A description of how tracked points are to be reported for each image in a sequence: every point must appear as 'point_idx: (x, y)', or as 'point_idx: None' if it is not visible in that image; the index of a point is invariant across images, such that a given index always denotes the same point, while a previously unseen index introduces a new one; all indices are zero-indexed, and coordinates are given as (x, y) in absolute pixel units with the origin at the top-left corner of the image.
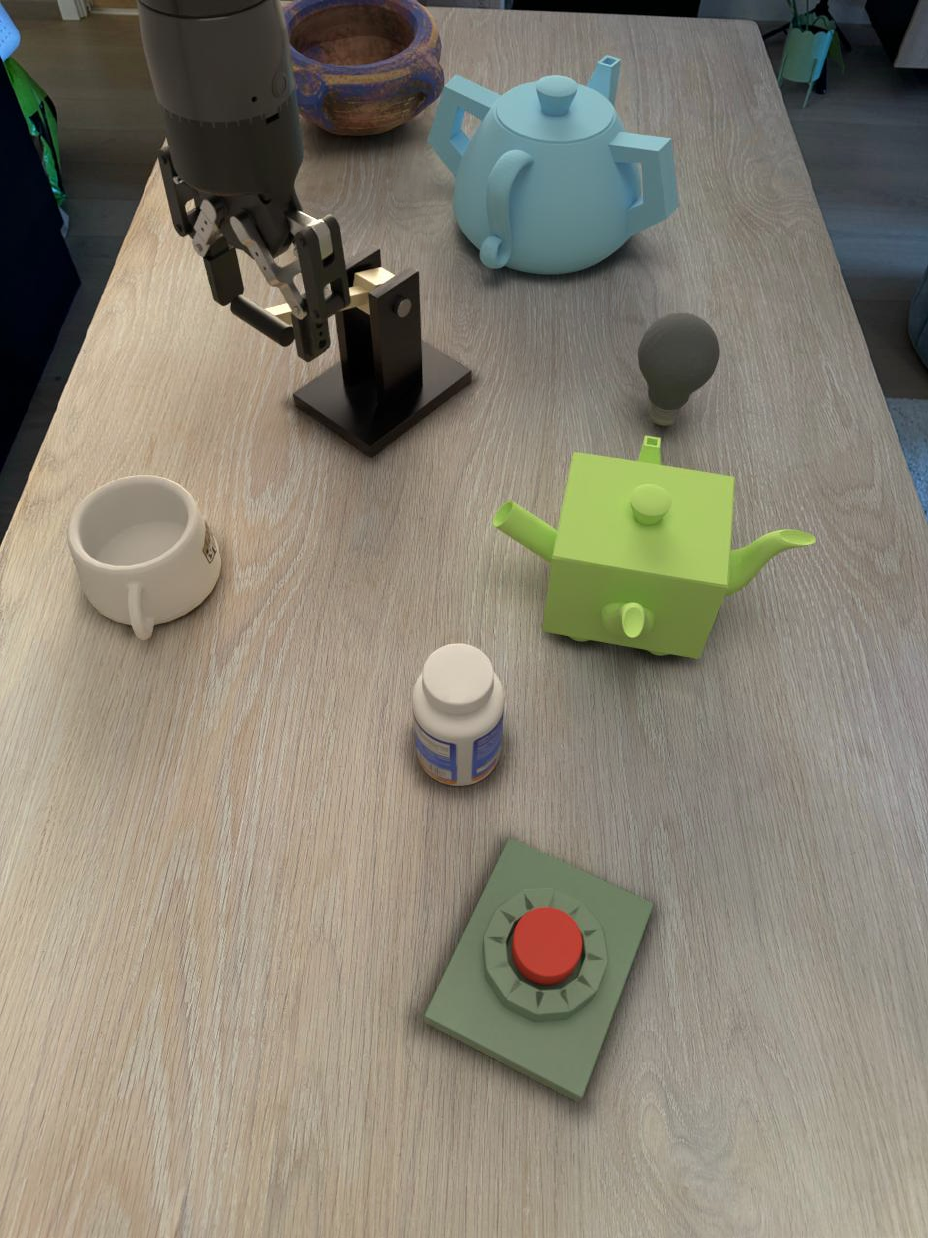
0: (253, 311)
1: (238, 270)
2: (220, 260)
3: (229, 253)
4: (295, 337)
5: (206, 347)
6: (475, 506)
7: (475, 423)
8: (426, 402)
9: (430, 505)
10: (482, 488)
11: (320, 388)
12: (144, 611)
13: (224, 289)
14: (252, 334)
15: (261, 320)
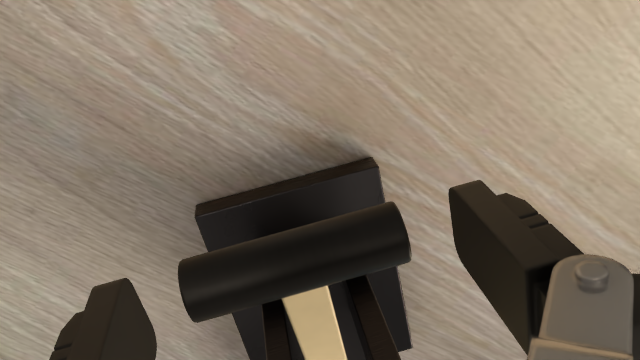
0: (315, 262)
1: (489, 296)
2: (517, 294)
3: (521, 330)
4: (102, 326)
5: (579, 94)
6: (21, 285)
7: (183, 349)
8: (238, 321)
9: (53, 234)
10: (53, 307)
11: (360, 208)
12: None
13: (469, 227)
14: (549, 169)
15: (270, 264)
